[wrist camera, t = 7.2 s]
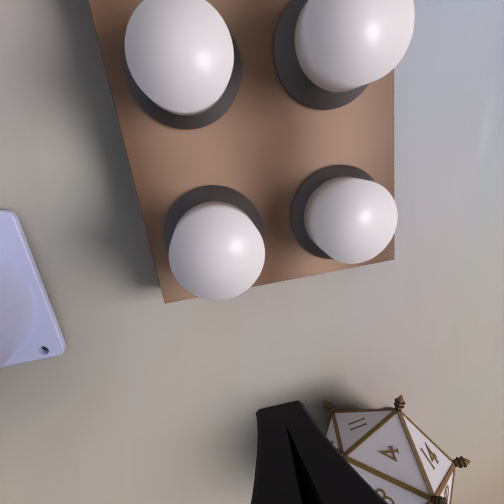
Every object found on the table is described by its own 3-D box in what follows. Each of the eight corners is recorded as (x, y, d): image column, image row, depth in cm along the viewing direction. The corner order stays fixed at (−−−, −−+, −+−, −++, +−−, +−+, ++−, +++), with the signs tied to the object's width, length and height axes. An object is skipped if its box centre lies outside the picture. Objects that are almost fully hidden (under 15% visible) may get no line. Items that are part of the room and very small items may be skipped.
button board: (168, 287, 18) (164, 306, 16) (53, -184, 12) (20, -259, 10) (375, 248, 19) (398, 261, 17) (365, -200, 13) (398, -271, 11)
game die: (329, 365, 26) (421, 361, 17) (410, 443, 25) (549, 483, 16) (256, 469, 22) (324, 537, 13) (349, 563, 22) (487, 700, 13)
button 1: (147, 121, 13) (139, 117, 12) (124, 17, 12) (111, -5, 10) (236, 109, 14) (241, 103, 12) (221, 6, 12) (224, -16, 11)
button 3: (299, 98, 13) (314, 90, 11) (289, -13, 12) (304, -40, 10) (386, 85, 13) (413, 77, 11) (385, -23, 12) (415, -51, 10)
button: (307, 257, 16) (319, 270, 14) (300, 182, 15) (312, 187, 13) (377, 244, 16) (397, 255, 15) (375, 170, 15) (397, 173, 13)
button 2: (182, 289, 14) (180, 308, 13) (164, 209, 13) (158, 218, 12) (262, 274, 15) (270, 290, 13) (251, 194, 14) (258, 201, 12)
